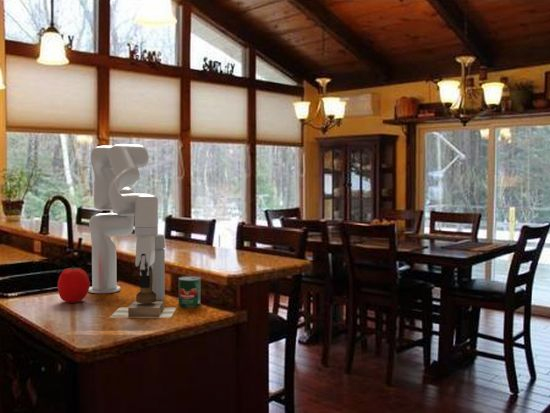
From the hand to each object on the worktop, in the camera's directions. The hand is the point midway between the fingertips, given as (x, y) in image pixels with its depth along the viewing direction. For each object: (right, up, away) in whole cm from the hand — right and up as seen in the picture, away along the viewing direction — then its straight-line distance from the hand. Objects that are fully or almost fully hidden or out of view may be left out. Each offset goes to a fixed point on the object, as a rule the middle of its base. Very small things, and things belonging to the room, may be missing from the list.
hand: (146, 285), depth 189 cm
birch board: (-1, -10, +1) cm, 11 cm away
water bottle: (-3, -9, +24) cm, 26 cm away
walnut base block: (0, -9, 0) cm, 9 cm away
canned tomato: (+13, -10, +13) cm, 21 cm away
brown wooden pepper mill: (0, -5, 0) cm, 5 cm away
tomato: (-32, -9, +20) cm, 39 cm away
